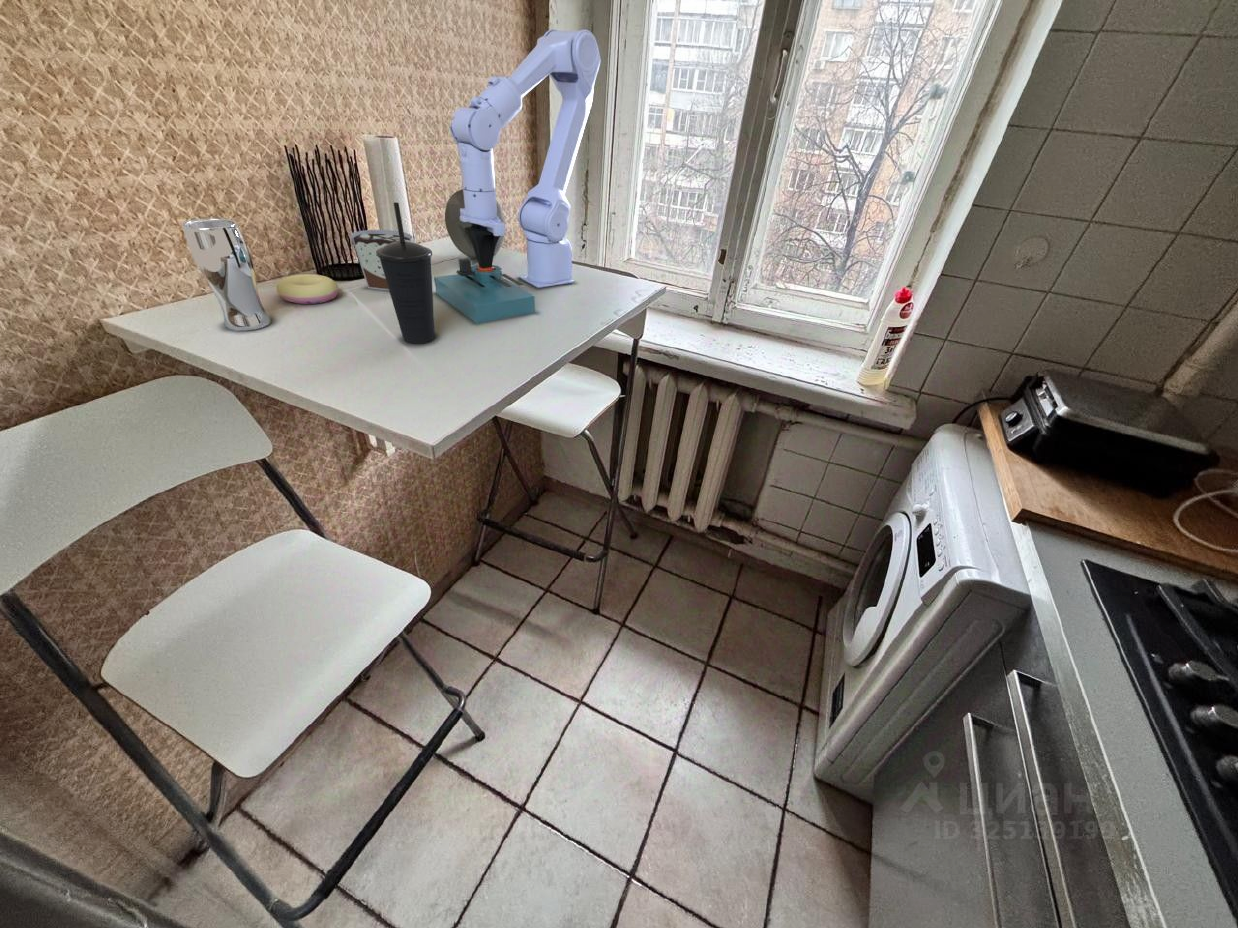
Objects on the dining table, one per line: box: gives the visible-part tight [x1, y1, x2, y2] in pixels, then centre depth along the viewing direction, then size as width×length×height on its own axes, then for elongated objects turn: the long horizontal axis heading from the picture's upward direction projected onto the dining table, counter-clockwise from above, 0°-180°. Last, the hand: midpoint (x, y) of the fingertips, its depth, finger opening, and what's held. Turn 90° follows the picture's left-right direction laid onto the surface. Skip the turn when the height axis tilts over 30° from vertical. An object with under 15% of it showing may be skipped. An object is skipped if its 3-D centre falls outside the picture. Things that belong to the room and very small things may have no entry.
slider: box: [456, 257, 475, 276], centre depth 91 cm, size 3×2×3 cm
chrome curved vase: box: [180, 218, 271, 332], centre depth 74 cm, size 7×7×15 cm
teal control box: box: [433, 264, 536, 324], centre depth 94 cm, size 12×18×5 cm
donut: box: [275, 273, 339, 305], centre depth 89 cm, size 10×5×9 cm
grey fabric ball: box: [444, 188, 506, 261], centre depth 115 cm, size 14×14×15 cm
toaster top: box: [454, 273, 524, 287], centre depth 91 cm, size 9×10×1 cm
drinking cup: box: [376, 202, 436, 346], centre depth 74 cm, size 8×8×20 cm
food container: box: [349, 229, 416, 291], centre depth 96 cm, size 12×6×10 cm, turn 85°
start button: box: [477, 266, 494, 272], centre depth 97 cm, size 3×3×2 cm
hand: (485, 267), depth 96 cm, fingers closed, pressing on start button
